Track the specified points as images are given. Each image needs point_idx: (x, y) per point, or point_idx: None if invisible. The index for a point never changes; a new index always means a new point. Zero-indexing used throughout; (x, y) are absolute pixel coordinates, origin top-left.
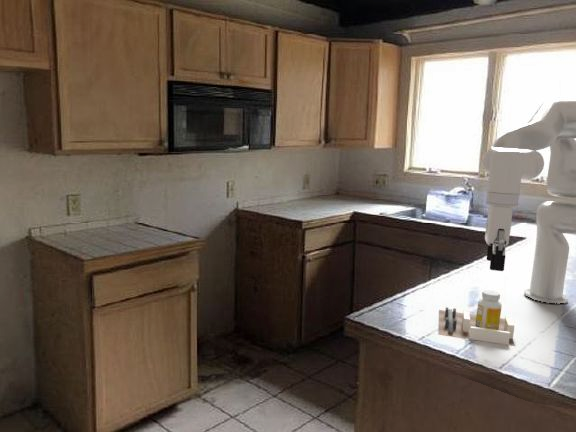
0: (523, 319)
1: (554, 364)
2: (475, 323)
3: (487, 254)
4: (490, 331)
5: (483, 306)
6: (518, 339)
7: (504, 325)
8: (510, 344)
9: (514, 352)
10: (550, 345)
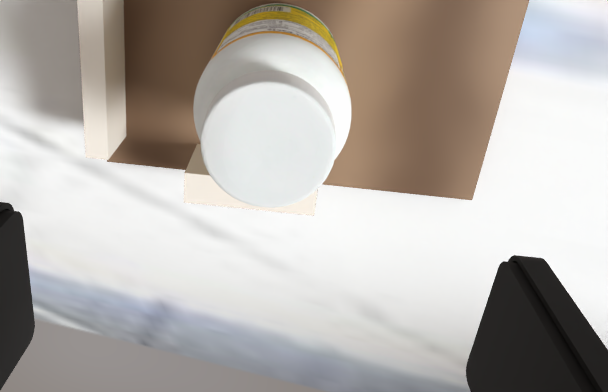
0: None
1: None
2: (366, 19)
3: (546, 302)
4: (82, 58)
5: (212, 60)
6: None
7: None
8: None
9: (70, 144)
10: (218, 304)
